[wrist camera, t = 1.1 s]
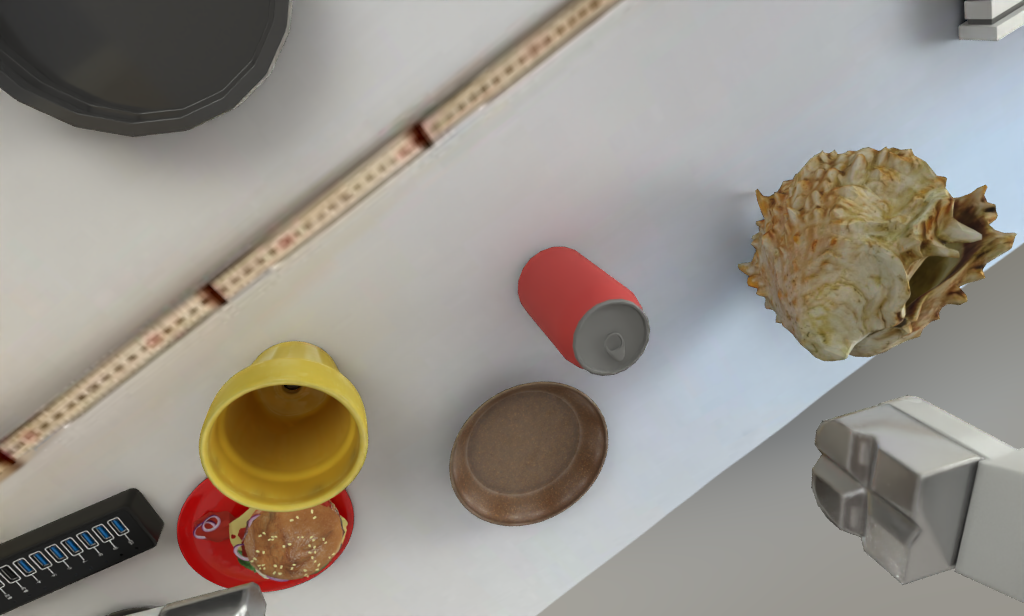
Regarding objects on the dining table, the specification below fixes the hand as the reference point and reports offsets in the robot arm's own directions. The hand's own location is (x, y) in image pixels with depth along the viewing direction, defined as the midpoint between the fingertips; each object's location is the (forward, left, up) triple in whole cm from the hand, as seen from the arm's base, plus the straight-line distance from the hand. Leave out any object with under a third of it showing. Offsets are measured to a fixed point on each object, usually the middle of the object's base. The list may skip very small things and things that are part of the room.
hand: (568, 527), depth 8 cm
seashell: (+11, +36, -40) cm, 54 cm away
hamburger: (+29, -14, -40) cm, 51 cm away
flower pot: (+16, -9, -40) cm, 44 cm away
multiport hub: (+26, -29, -40) cm, 56 cm away
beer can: (+12, +13, -40) cm, 43 cm away
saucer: (+27, +9, -40) cm, 49 cm away
